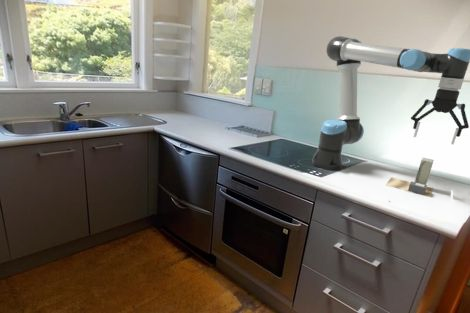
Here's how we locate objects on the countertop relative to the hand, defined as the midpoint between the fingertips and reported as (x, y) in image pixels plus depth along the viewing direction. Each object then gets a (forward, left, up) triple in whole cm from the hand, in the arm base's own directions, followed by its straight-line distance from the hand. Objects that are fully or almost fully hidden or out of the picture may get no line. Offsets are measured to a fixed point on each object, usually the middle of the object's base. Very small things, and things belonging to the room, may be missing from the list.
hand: (432, 140), depth 123 cm
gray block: (0, -8, -22) cm, 23 cm away
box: (0, 0, -22) cm, 22 cm away
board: (-3, -4, -23) cm, 23 cm away
